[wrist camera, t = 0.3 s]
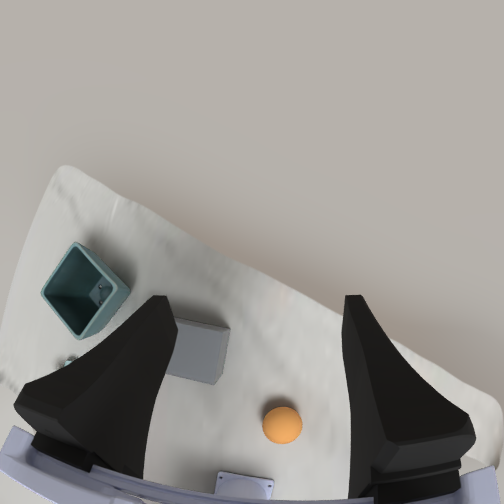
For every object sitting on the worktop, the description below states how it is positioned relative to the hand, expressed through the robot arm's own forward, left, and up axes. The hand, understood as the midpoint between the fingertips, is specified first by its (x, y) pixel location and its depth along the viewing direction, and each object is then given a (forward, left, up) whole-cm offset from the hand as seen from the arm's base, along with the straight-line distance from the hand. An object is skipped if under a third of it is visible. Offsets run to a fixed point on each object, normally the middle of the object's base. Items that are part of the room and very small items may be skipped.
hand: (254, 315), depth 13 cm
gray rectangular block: (-6, +9, -29) cm, 31 cm away
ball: (-14, -5, -27) cm, 30 cm away
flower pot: (-2, +22, -29) cm, 37 cm away
